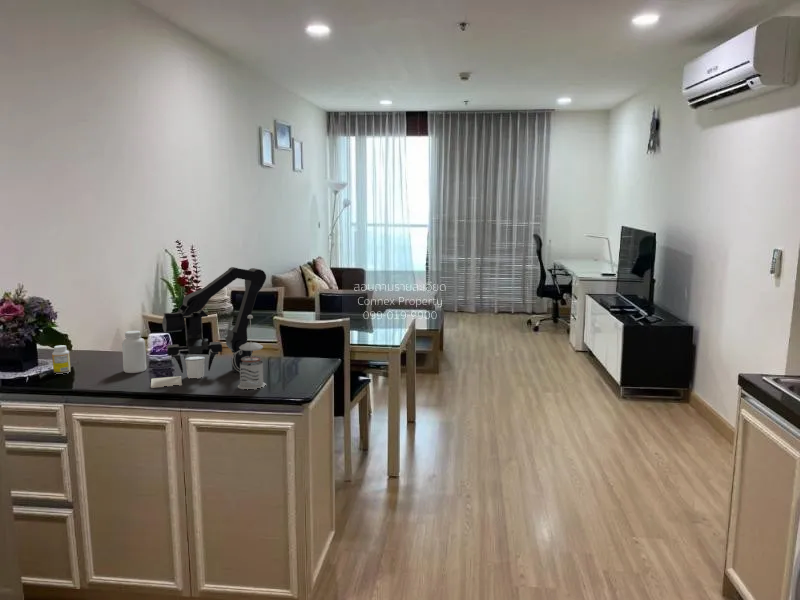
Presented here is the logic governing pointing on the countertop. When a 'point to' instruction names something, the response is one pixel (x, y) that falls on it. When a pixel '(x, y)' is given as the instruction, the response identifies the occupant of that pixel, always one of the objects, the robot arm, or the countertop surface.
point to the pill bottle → (133, 352)
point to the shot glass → (195, 366)
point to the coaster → (166, 381)
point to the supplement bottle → (61, 359)
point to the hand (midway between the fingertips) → (195, 371)
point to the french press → (247, 380)
